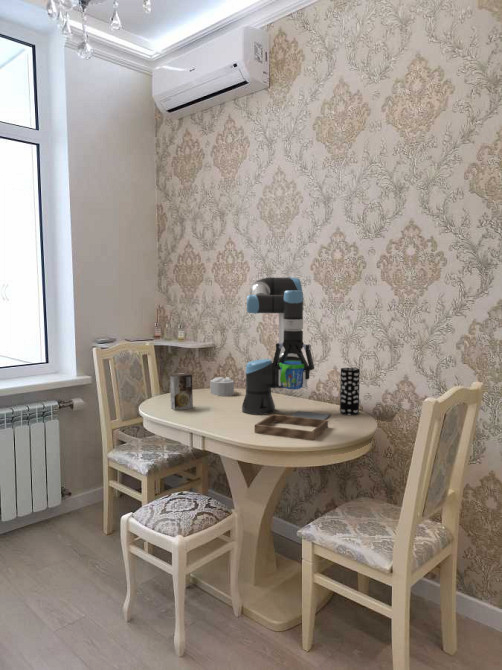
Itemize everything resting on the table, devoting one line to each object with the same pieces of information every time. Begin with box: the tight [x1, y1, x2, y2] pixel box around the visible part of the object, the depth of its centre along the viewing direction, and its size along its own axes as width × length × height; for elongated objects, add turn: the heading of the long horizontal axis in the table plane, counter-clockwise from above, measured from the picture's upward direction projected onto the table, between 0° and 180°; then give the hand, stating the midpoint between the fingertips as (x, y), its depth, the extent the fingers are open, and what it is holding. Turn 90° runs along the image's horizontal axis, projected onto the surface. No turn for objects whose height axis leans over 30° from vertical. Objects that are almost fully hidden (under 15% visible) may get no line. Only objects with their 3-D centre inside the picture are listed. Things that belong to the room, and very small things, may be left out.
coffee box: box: [169, 372, 194, 411], centre depth 242 cm, size 9×6×16 cm
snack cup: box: [279, 361, 305, 390], centre depth 204 cm, size 16×10×10 cm
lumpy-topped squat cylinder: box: [210, 376, 235, 397], centre depth 274 cm, size 10×13×9 cm
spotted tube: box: [339, 367, 361, 416], centre depth 232 cm, size 8×8×20 cm
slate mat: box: [290, 410, 331, 420], centre depth 224 cm, size 15×15×1 cm
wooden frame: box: [254, 413, 329, 441], centre depth 205 cm, size 24×19×3 cm
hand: (292, 386), depth 204 cm, fingers closed on snack cup, 9 cm apart
